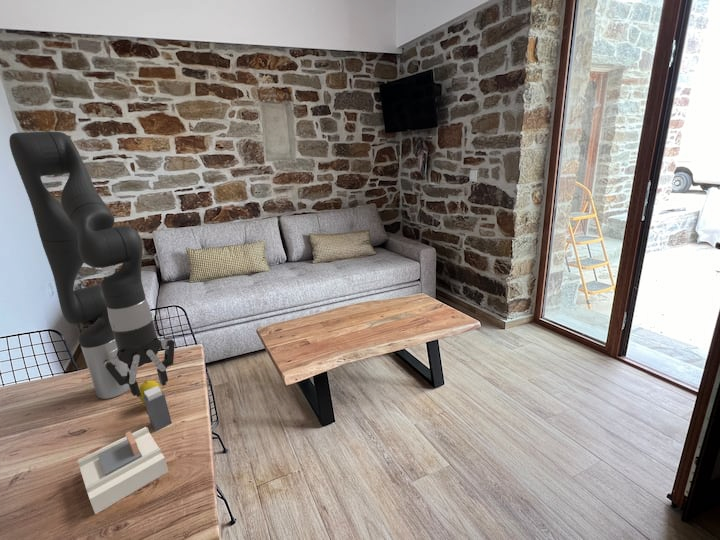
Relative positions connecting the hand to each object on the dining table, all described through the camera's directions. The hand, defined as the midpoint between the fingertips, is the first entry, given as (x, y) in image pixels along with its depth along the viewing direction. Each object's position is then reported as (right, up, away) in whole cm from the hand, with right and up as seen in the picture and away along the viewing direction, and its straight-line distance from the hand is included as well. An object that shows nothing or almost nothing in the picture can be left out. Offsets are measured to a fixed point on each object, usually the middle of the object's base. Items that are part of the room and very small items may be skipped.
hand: (150, 389), depth 84 cm
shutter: (-6, -15, -2) cm, 16 cm away
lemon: (-12, -12, +22) cm, 28 cm away
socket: (-6, -19, 0) cm, 20 cm away
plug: (-5, -14, +14) cm, 21 cm away
